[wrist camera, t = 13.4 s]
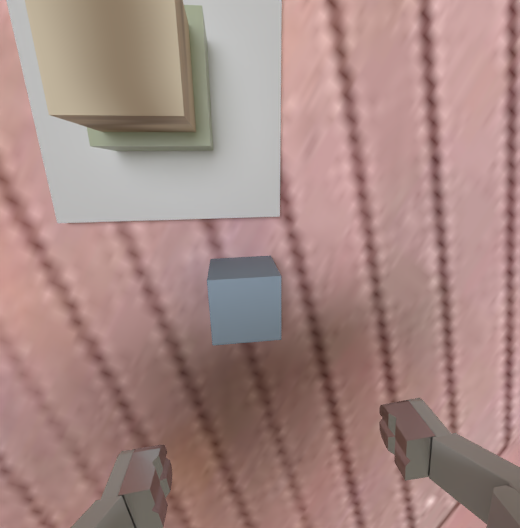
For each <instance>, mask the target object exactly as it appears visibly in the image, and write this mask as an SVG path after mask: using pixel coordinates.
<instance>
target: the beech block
mask: <svg viewBox="0 0 520 528" xmlns="http://www.w3.org/2000/svg"><path fill="white" fill-rule="evenodd" d="M25 4H26V9H27V14H28V18H29V23H30V28H31V33H32V37H33V42H34V47H35V52H36V56H37V61H38V66H39V71H40V75H41V80H42V85H43V90H44V94H45V99H46V104H47V108H48V113H49V115H51V116H54V117H57V118H60V119H63V120H66V121H70V122H73V123H76V124H79V125H82V126H85V127H88V128H92V129H95V130H98V131H101V132H196V121H195V107H194V93H193V79H192V65H191V51H190V37H189V24H188V20H187V16H186V12H185V8H184V4H183V0H25Z"/></svg>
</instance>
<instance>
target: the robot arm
mask: <svg viewBox="0 0 520 528" xmlns="http://www.w3.org/2000/svg"><path fill="white" fill-rule="evenodd" d="M380 415H381V416H382V419H381V421H380V422H379V424H380V433H381V437H382V439H383V442H384V444H385V446H386V448H387V449H388V451H390V452H391V453H393V454H394V455H395V464H396V465H397V467H398V469H399V471H400V472H401V474H402V476H403V478H404V479H405V480H411V479H417V478H424V477H429V478H430V479H431V480H432V481H433V482H435V483H436V484H437V485H438V486H440V487H441V488H442V489H443V490H445V491H446V492H447V493H448V494H450V495H451V496H452V497H453V498H455V499H456V500H457V501H458V502H460V503H461V504H462V505H463V506H465V507H466V508H467V509H468V510H470V511H471V512H472V513H473V514H475V515H476V516H477V517H478V518H480V519H481V520H482V521H483V522H485V523H486V524H487V527H486V528H520V467H518V466H516V465H514V464H512V463H511V462H509V461H507V460H505V459H503V458H501V457H499V456H497V455H496V454H494V453H492V452H490V451H488V450H486V449H484V448H482V447H481V446H479V445H477V444H475V443H473V442H471V441H469V440H467V439H466V438H464V437H462V436H460V435H458V434H456V433H452V434H451V433H450V432H449V430H448V429H447V428H446V427H445V426H444V424H443V423H442V422H441V421H440V420H439V419H438V417H437V416H436V415H435V414H434V413H433V412H432V410H431V409H430V408H429V407H428V406H427V404H426V403H425V402H424V401H423V400H422V399H420V398H416V399H410V400H406V401H405V400H404V401H399V402H394V403H389V404H383V405H381V406H380ZM166 454H167V450H166V447H165V445H157V446H151V447H144V448H138V449H132V450H126V451H121V453H120V454H119V455H118V457H117V460H116V462H115V465H114V467H113V470H112V472H111V475H110V477H109V480H108V482H107V485H106V487H105V490H104V492H103V495H102V497H101V500H96V501H95V502H94V503H93V504H92V505H91V507H90V508H89V509H88V510H87V511H86V512H85V513H84V514H83V515H82V516H81V517H80V518H79V519H78V520H77V521H76V523H75V524H74V525H73V526H72V527H71V528H163V527H164V522H165V516H166V511H167V506H168V505H167V502H166V499H165V498H166V496H167V495H168V494H169V492H170V490H171V484H172V467H171V463H170V460H168V459H167V458H166Z"/></svg>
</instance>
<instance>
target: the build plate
mask: <svg viewBox="0 0 520 528" xmlns="http://www.w3.org/2000/svg"><path fill="white" fill-rule="evenodd" d="M6 1H7V5H8V10H9V14H10V18H11V23H12V27H13V31H14V36H15V40H16V44H17V49H18V53H19V58H20V62H21V66H22V71H23V75H24V79H25V84H26V88H27V93H28V97H29V101H30V106H31V110H32V114H33V119H34V123H35V127H36V132H37V136H38V141H39V145H40V149H41V154H42V158H43V162H44V167H45V171H46V176H47V180H48V184H49V189H50V193H51V197H52V202H53V206H54V210H55V215H56V219H57V223H80V222H113V221H146V220H180V219H213V218H246V217H279V216H280V131H281V9H282V0H183V4H184V8H185V12H186V16H187V20H188V24H189V37H190V51H191V65H192V79H193V93H194V107H195V121H196V132H101V131H98V130H95V129H92V128H88V127H85V126H82V125H79V124H76V123H73V122H70V121H66V120H63V119H60V118H57V117H54V116H51V115H49V113H48V108H47V104H46V99H45V94H44V90H43V85H42V80H41V75H40V71H39V66H38V61H37V56H36V52H35V47H34V42H33V37H32V33H31V28H30V23H29V18H28V14H27V9H26V4H25V0H6Z"/></svg>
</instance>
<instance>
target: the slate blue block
mask: <svg viewBox="0 0 520 528" xmlns="http://www.w3.org/2000/svg"><path fill="white" fill-rule="evenodd" d="M207 286H208V297H209V309H210V321H211V332H212V344H213V345H224V344H236V343H248V342H260V341H271V340H281V274H280V273H279V271H278V269H277V267H276V265H275V263H274V261H273V259H272V257H271V256H257V257H239V258H221V259H211V260H210V266H209V272H208V278H207Z"/></svg>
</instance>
